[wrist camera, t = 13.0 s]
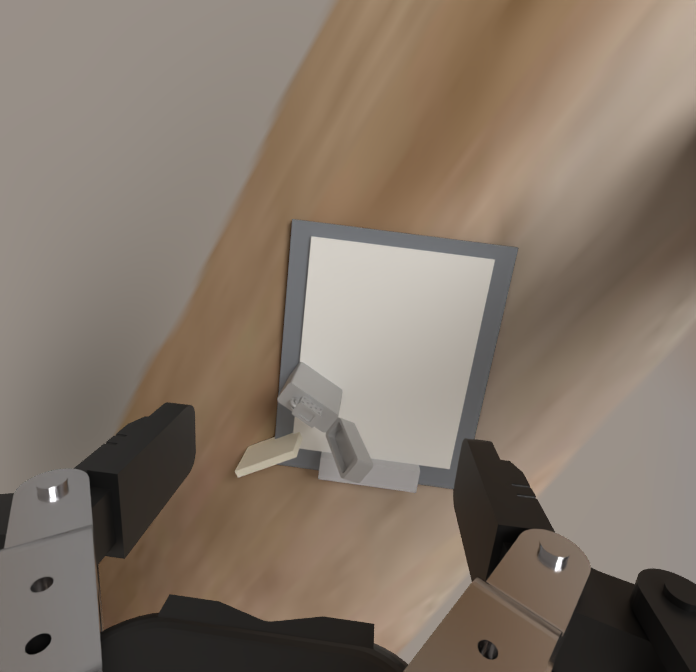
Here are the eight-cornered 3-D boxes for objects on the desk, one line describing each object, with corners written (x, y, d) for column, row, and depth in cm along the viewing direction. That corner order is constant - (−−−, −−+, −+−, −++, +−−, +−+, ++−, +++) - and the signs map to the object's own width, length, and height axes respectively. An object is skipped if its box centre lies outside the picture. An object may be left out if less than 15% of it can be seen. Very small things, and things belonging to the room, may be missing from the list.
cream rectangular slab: (301, 427, 35) (293, 450, 31) (304, 433, 35) (296, 457, 31) (248, 446, 35) (234, 471, 32) (251, 452, 36) (238, 477, 32)
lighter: (288, 377, 33) (261, 426, 25) (300, 360, 32) (277, 405, 24) (361, 427, 33) (357, 490, 26) (374, 412, 33) (374, 471, 25)
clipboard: (515, 247, 30) (524, 249, 28) (461, 486, 35) (465, 499, 34) (293, 219, 30) (289, 219, 28) (274, 460, 36) (269, 472, 34)
